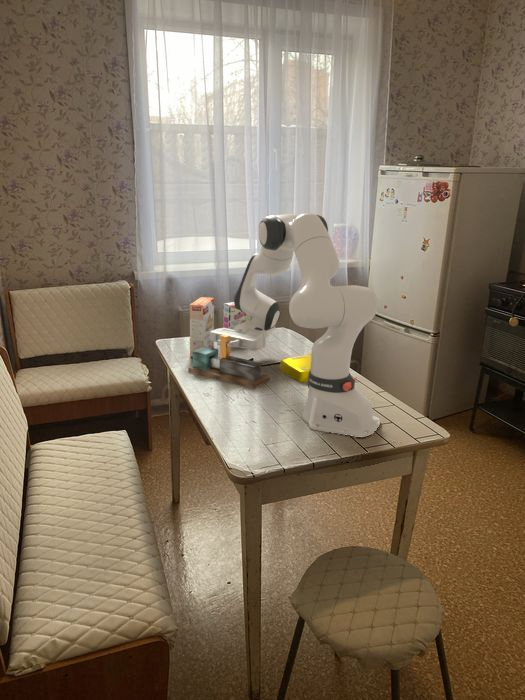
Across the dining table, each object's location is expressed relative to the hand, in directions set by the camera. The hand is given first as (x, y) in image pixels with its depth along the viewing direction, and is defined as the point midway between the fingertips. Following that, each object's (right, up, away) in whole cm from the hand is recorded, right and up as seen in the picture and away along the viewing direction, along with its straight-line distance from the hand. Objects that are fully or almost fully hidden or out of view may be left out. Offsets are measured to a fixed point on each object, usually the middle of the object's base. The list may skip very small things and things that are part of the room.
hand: (223, 344), depth 180 cm
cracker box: (-10, -3, +27) cm, 29 cm away
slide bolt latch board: (+1, -11, +4) cm, 12 cm away
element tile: (+29, -11, +9) cm, 32 cm away
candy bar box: (+2, +2, +43) cm, 43 cm away
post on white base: (-1, -8, +5) cm, 9 cm away
